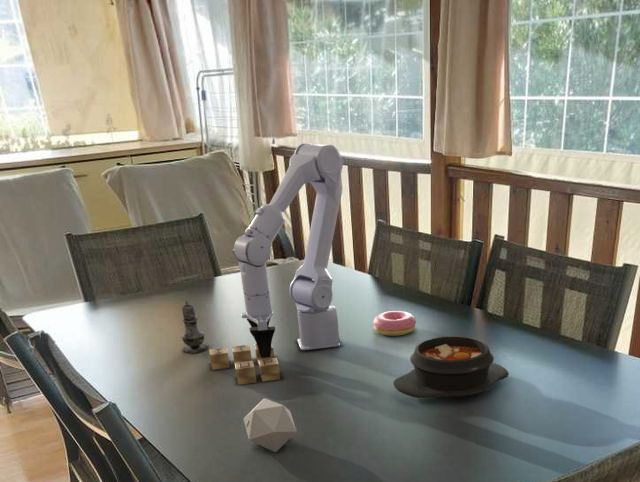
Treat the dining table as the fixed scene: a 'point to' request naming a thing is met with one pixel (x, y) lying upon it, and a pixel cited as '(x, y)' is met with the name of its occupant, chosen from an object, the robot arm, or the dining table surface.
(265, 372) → the tile
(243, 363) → the tile
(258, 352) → the tile
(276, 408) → the die
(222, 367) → the tile
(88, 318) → the dining table surface
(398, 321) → the doughnut
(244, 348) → the tile
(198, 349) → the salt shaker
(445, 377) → the casserole
